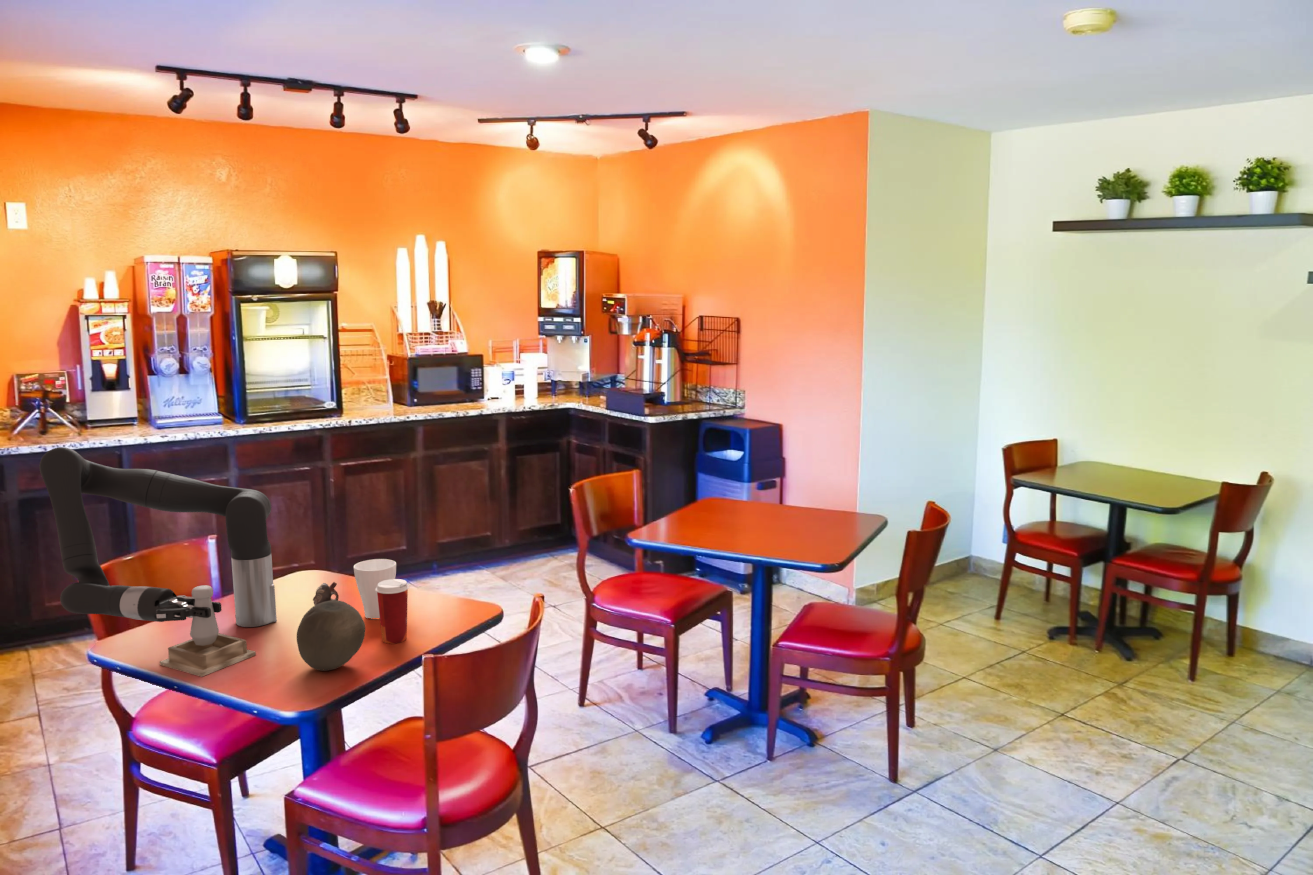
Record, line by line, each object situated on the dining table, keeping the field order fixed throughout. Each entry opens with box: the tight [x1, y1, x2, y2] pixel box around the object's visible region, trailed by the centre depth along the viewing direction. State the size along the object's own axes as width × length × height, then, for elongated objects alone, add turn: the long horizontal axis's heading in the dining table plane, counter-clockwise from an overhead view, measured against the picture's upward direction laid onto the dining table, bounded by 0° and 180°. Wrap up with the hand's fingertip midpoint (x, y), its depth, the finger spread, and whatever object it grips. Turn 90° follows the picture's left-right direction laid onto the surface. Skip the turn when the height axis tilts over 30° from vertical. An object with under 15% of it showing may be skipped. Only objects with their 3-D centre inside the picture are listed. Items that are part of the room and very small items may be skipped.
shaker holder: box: [159, 632, 257, 678], centre depth 213 cm, size 14×14×4 cm
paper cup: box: [376, 578, 410, 644], centre depth 225 cm, size 8×8×14 cm
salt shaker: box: [189, 584, 220, 646], centre depth 212 cm, size 6×6×13 cm
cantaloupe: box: [296, 600, 366, 672], centre depth 208 cm, size 14×14×15 cm
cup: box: [353, 558, 397, 620], centre depth 242 cm, size 10×10×14 cm
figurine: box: [312, 581, 339, 606], centre depth 231 cm, size 7×7×12 cm
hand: (214, 610), depth 211 cm, fingers closed on salt shaker, 3 cm apart
